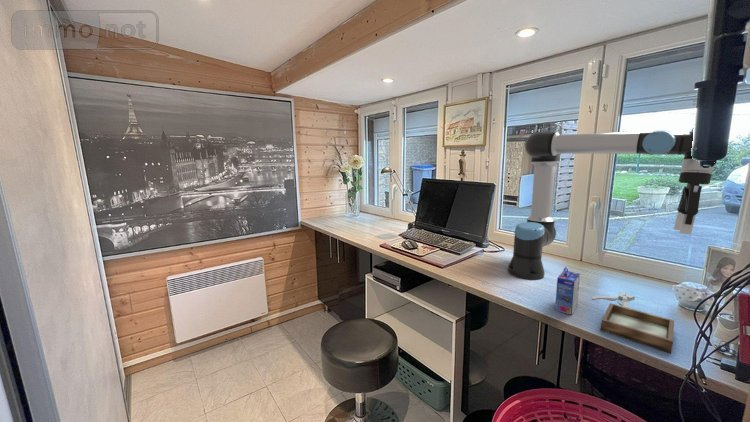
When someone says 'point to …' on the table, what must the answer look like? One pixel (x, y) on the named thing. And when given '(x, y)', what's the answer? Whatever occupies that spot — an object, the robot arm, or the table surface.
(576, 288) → the ink cartridge box
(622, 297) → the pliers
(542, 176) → the robot arm
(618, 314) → the wooden tray
